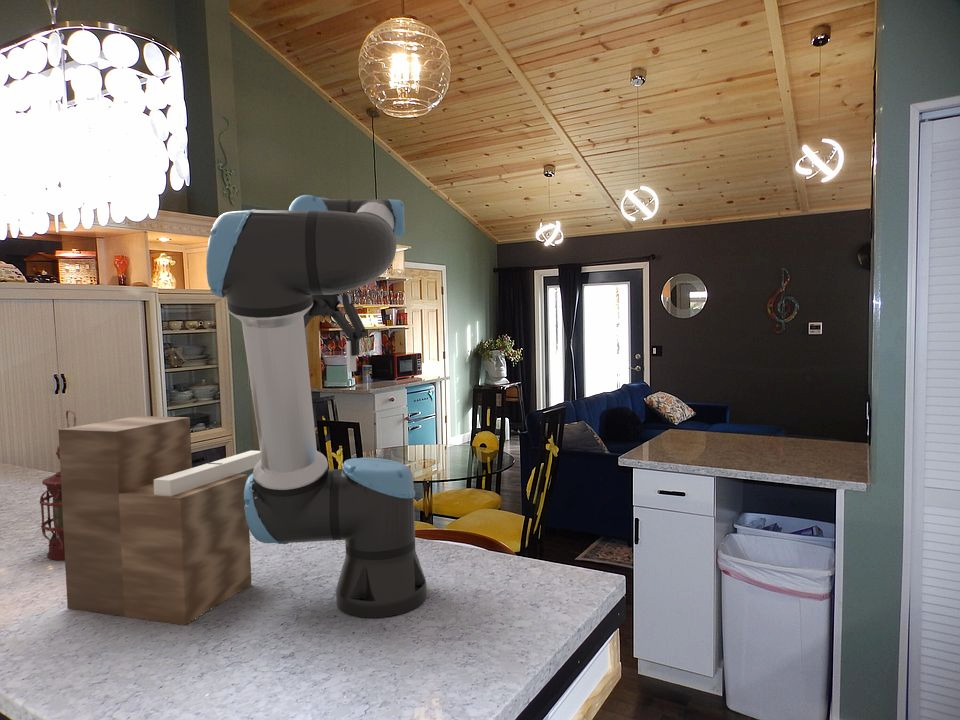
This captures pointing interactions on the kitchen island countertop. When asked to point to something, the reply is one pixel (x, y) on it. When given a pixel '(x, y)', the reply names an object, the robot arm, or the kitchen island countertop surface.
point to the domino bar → (205, 474)
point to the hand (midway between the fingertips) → (323, 371)
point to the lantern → (54, 510)
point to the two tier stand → (147, 524)
